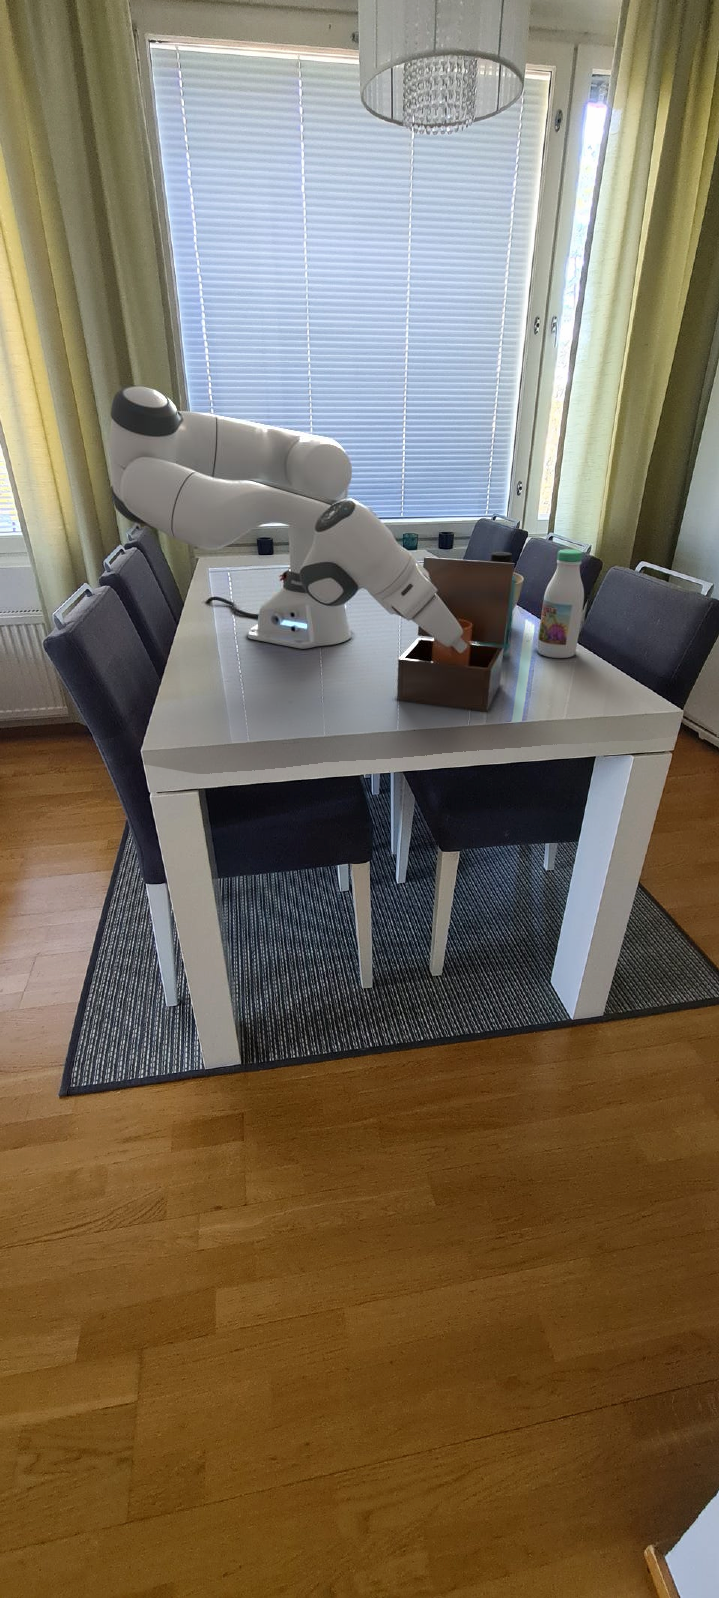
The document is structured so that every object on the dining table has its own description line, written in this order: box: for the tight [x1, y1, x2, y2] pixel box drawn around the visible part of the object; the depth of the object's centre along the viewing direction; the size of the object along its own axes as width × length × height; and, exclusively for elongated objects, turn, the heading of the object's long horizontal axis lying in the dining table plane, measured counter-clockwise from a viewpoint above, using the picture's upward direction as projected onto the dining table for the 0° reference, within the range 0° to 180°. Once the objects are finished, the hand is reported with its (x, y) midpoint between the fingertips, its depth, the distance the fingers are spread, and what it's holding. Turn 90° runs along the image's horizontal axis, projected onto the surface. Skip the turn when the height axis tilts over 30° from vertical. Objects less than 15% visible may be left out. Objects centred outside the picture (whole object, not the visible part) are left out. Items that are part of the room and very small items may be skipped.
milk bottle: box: [536, 548, 585, 659], centre depth 137 cm, size 8×8×20 cm
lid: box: [417, 556, 515, 644], centre depth 123 cm, size 14×16×5 cm
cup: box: [431, 619, 473, 666], centre depth 118 cm, size 6×6×8 cm
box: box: [396, 637, 504, 712], centre depth 121 cm, size 13×16×7 cm
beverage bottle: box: [477, 551, 516, 653], centre depth 135 cm, size 6×7×20 cm
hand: (455, 641), depth 118 cm, fingers closed on cup, 6 cm apart
